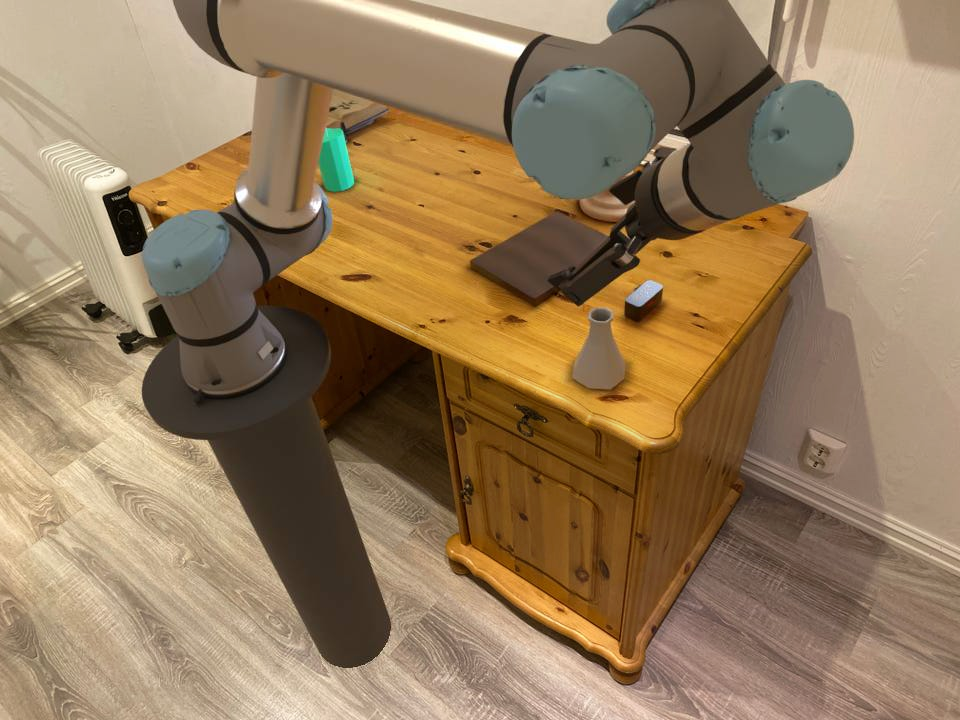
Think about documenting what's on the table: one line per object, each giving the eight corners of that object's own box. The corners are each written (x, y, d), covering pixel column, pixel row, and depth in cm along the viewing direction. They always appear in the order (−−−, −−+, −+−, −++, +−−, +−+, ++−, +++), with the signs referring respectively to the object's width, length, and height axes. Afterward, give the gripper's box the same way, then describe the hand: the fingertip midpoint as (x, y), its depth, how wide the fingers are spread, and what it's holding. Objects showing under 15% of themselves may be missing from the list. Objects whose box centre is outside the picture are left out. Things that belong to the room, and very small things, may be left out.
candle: (360, 182, 141) (347, 124, 133) (337, 194, 138) (322, 136, 130) (342, 173, 145) (328, 116, 137) (318, 186, 142) (303, 128, 134)
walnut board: (534, 306, 108) (534, 298, 107) (470, 267, 116) (469, 260, 115) (622, 250, 116) (623, 242, 115) (556, 218, 125) (556, 210, 124)
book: (301, 164, 149) (294, 137, 145) (259, 143, 159) (251, 118, 155) (391, 121, 161) (387, 95, 157) (347, 104, 171) (342, 79, 167)
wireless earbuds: (666, 301, 106) (668, 283, 104) (638, 325, 102) (639, 307, 100) (639, 289, 108) (641, 272, 106) (611, 313, 105) (612, 295, 103)
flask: (614, 397, 92) (617, 339, 86) (563, 381, 95) (562, 324, 88) (634, 362, 97) (638, 304, 90) (584, 348, 100) (585, 291, 93)
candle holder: (626, 230, 120) (632, 115, 107) (565, 210, 127) (564, 99, 113) (662, 198, 127) (673, 85, 113) (604, 180, 133) (607, 72, 120)
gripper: (651, 327, 62) (555, 344, 82) (786, 115, 67) (665, 180, 87) (586, 274, 60) (505, 304, 80) (730, 61, 65) (619, 140, 85)
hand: (588, 239), depth 84 cm, fingers open, 13 cm apart
